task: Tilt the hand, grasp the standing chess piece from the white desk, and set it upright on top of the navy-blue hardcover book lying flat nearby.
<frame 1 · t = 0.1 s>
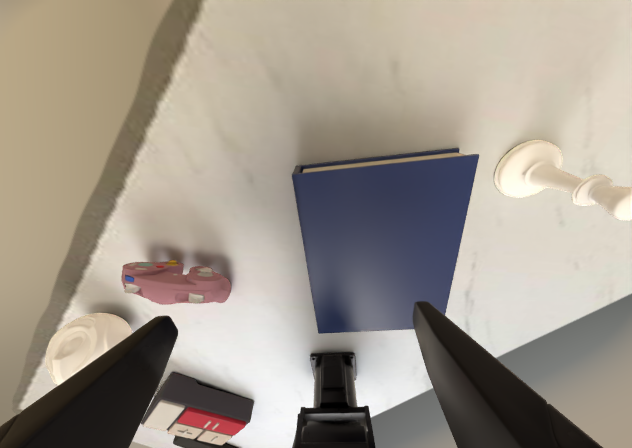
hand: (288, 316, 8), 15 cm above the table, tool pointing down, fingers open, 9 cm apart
video game controller: (193, 267, 26), on the table
white ball: (118, 320, 31), on the table
blue book: (374, 247, 24), on the table
chess piece: (522, 168, 20), on the table
calculator: (204, 398, 40), on the table
remote control: (211, 441, 49), on the table
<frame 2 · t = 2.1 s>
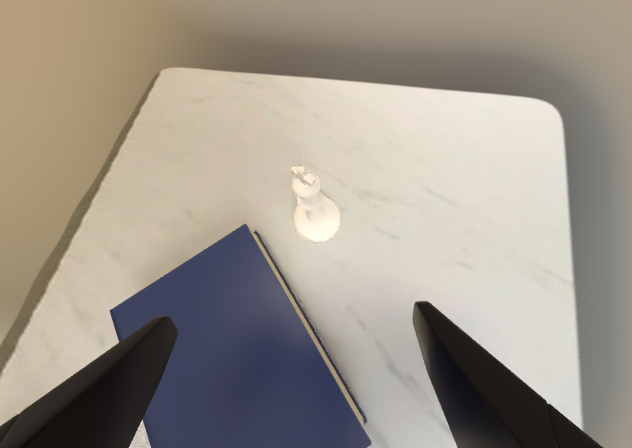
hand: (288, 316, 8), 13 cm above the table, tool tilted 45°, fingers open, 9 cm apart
blue book: (239, 357, 20), on the table
chess piece: (317, 219, 23), on the table
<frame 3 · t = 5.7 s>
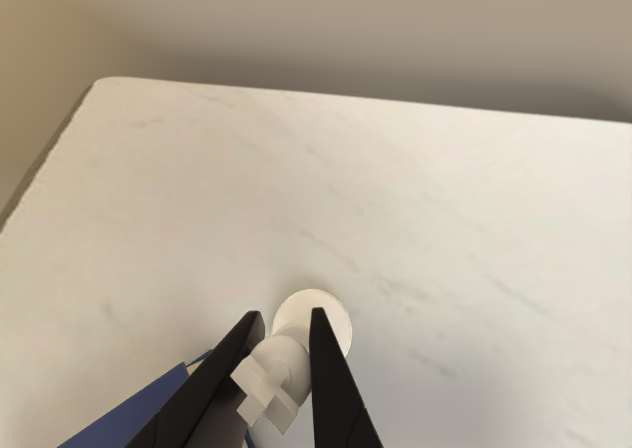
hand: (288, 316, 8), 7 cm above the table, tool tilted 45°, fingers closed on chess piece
chess piece: (312, 329, 14), on the table, touching gripper
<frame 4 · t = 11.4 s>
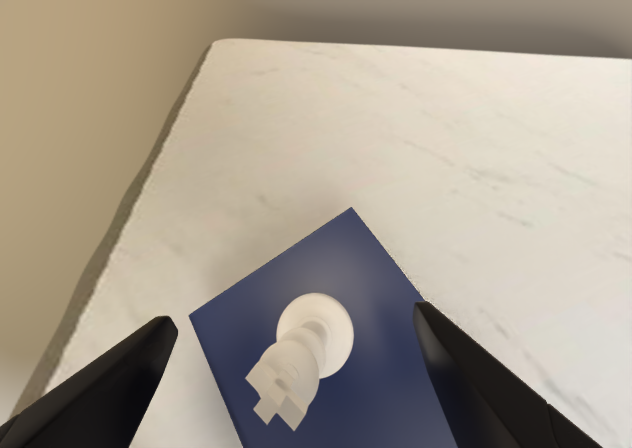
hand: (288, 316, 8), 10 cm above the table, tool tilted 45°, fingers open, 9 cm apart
blue book: (348, 373, 16), on the table
chess piece: (315, 332, 15), point 3 cm above the table, touching blue book
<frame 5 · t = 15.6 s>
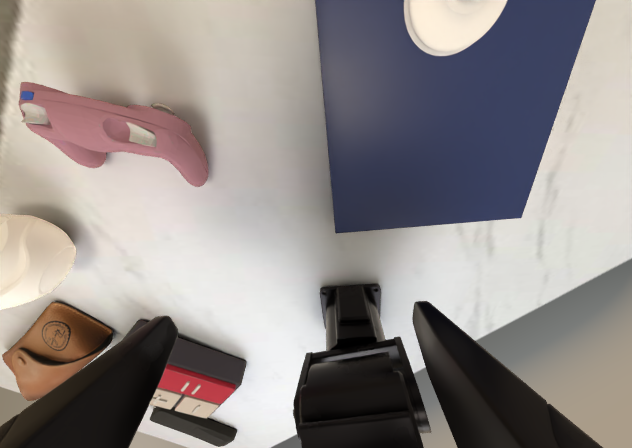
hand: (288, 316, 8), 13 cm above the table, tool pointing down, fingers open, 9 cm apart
video game controller: (152, 137, 18), on the table
white ball: (59, 236, 23), on the table
blue book: (423, 87, 16), on the table
calculator: (184, 358, 32), on the table
remote control: (197, 419, 41), on the table
sunglasses case: (62, 341, 31), on the table
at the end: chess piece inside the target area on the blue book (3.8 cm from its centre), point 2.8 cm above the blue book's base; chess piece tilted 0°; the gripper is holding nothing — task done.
